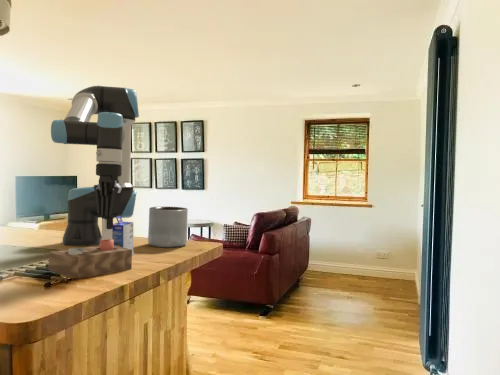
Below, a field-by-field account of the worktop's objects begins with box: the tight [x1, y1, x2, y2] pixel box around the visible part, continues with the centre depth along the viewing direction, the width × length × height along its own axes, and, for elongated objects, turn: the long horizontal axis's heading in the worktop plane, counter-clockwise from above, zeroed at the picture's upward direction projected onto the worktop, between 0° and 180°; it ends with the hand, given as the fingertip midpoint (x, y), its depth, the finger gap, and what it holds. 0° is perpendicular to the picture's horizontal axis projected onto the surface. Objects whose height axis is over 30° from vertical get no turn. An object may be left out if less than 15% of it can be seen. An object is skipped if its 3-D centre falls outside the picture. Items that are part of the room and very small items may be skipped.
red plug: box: [99, 239, 114, 251], centre depth 126 cm, size 4×4×6 cm
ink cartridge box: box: [112, 216, 134, 257], centre depth 142 cm, size 10×6×14 cm, turn 176°
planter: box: [147, 206, 188, 249], centre depth 171 cm, size 16×16×16 cm
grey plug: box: [67, 247, 84, 255], centre depth 119 cm, size 4×4×6 cm
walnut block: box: [48, 245, 133, 280], centre depth 123 cm, size 20×12×6 cm, turn 141°
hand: (107, 239), depth 126 cm, fingers closed
